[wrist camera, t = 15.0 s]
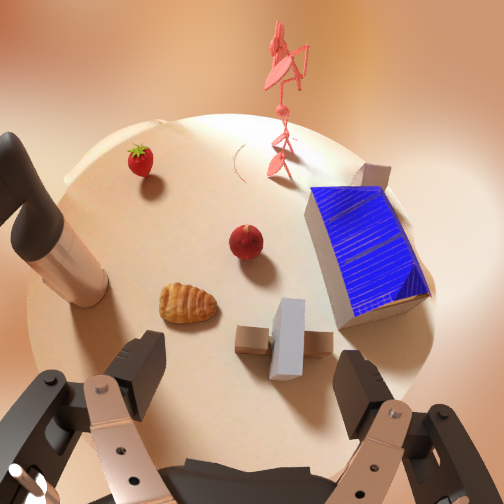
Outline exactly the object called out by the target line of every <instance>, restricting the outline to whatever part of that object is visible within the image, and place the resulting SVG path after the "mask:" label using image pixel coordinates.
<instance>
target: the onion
mask: <svg viewBox="0 0 504 504" xmlns="http://www.w3.org/2000/svg"><path fill="white" fill-rule="evenodd" d="M229 245H230V249H231V251H232V252H233V254H234V255H235V256H237V257H238V258H240V259H243V260H251V259H253V258H255V257H257V256H258V255H259V254H260V252H261V251H262V249H263V237H262V234H261V232H260V231H259V230H258V229H257V228H255V227H254V226H252V225H242V226H240V227H238V228H236V229H235V230H234V231H233V232H232V234H231V236H230V239H229Z"/></svg>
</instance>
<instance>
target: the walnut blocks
mask: <svg viewBox="0 0 504 504" xmlns="http://www.w3.org/2000/svg"><path fill="white" fill-rule="evenodd" d="M268 335H269V328H257V327H247V326H237V331H236V340H235V353H244V354H255V355H267V356H272V346H273V337H271V336H268ZM331 353H333V332H313V331H304V350H303V358H323V357H325V356H327V355H329V354H331Z"/></svg>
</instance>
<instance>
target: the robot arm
mask: <svg viewBox="0 0 504 504" xmlns="http://www.w3.org/2000/svg"><path fill="white" fill-rule="evenodd" d="M22 204H23V205H22ZM21 205H22V208H21V210H20V212H19V214H18V216H17V218H16V220H15V222H14V224H13V227H12V231H11V244H12V247H13V249H14V251H15V252H16V253H17V254H18V255H19V256H20V257H21V258H22V259H23V260H24V261H25V262H26V263H27V264H28V265H30V267H31V268H33V269H34V270H35V271H36V272H37V273H38V274H39V275H40V276H42V277H43V282H44V283H45V284H46V285H47V286H48V287H50V288H51V289H52V290H53V291H54V292H56V293H57V294H58V295H59V296H61V297H62V298H63V299H65V300H66V301H67V302H68V303H74V304H76V305H77V306H79V307H83V308H87V307H91V306H93V305H95V304H97V303H98V302H99V301H100V300H101V299H102V297H103V296H104V294H105V292H106V290H107V286H108V276H107V273H106V271H105V270H104V268H103V267H102V266H101V265H100V263H99V262H98V261H97V260H96V258H95V257H94V256H93V255H92V253H91V252H90V251H89V250H88V248H87V247H86V246H85V244H84V243H83V242H82V240H81V239H80V238H79V236H78V235H77V234H76V232H75V231H74V230H73V228H72V227H71V226H70V224H69V223H68V221H67V220H66V219H65V217H64V216H63V214H62V213H61V211H60V210H59V208H58V207H57V206H56V204H55V203H54V202H53V200H52V199H51V197H50V195H49V194H48V192H47V191H46V189H45V187H44V185H43V184H42V182H41V180H40V178H39V176H38V174H37V172H36V170H35V168H34V166H33V164H32V162H31V160H30V157H29V155H28V153H27V151H26V149H25V147H24V146H23V144H22V142H21V141H20V139H19V138H18V137H17V136H16V135H15V134H14V133H12V132H6V133H4V134H2V135H1V136H0V226H1V225H2V224H4V222H5V221H6V220H7V219H8V218H9V217H10V216H11V215H12V214H13V213H14V212H15V211H16V210H17V209H18V208H19V207H20V206H21ZM165 368H166V351H165V337H164V333H161V332H155V331H150V330H147V331H146V332H145V333H144V335H143V336H142V338H141V339H136V338H135V339H133V340H132V341H130V342H128V343H127V344H126V345H125V346H124V348H123V349H122V351H121V352H120V353H119V354H118V357H116V358H115V359H114V361H113V362H112V363H111V365H110V366H109V367H108V369H107V370H106V371H105V373H104V374H103V375H95V376H92V377H90V378H88V379H87V380H86V381H85V383H74V382H67V381H66V378H65V376H64V374H63V373H62V372H60V371H58V370H46V371H43V372H41V373H40V374H39V375H38V376H37V377H36V378H35V379H34V381H33V382H32V383H31V384H30V385H29V386H28V388H27V389H26V390H25V391H24V392H23V394H22V395H21V396H20V397H19V398H18V400H17V401H16V402H15V403H14V405H13V406H12V407H11V408H10V410H9V411H8V412H7V413H6V415H5V416H4V417H3V419H2V420H1V421H0V504H60V498H59V495H58V493H57V491H56V490H55V487H56V485H57V483H58V481H59V478H60V476H61V474H62V472H63V470H64V468H65V466H66V464H67V462H68V459H69V458H70V455H71V454H72V452H73V449H74V448H75V446H76V444H77V442H78V440H79V438H80V436H81V434H82V432H89V433H91V434H92V437H93V441H94V444H95V448H96V451H97V454H98V457H99V460H100V463H101V466H102V469H103V472H104V475H105V477H106V480H107V483H108V485H109V488H110V490H111V494H109V495H107V496H105V497H103V498H100V499H98V500H96V501H93V502H91V503H89V504H382V502H383V500H384V498H385V495H386V494H387V492H388V489H389V487H390V485H391V483H392V480H393V478H394V476H395V474H396V471H397V469H398V466H399V464H400V461H401V459H402V462H403V465H404V468H405V471H406V474H407V476H408V480H409V483H410V486H411V489H412V493H413V496H414V499H415V502H416V504H503V502H502V499H501V497H500V495H499V493H498V490H497V488H496V486H495V484H494V482H493V480H492V478H491V476H490V474H489V472H488V470H487V468H486V466H485V464H484V462H483V460H482V458H481V457H480V455H479V453H478V451H477V449H476V447H475V446H474V444H473V442H472V440H471V439H470V437H469V435H468V433H467V432H466V430H465V428H464V427H463V425H462V423H461V422H460V420H459V418H458V417H457V416H456V414H455V412H454V411H453V409H452V408H450V407H449V406H447V405H444V404H435V405H433V406H432V407H431V408H430V409H429V411H428V412H427V413H419V412H412V411H411V409H410V407H409V406H408V405H407V404H406V403H404V402H402V401H399V400H395V399H394V398H393V396H392V394H391V392H390V390H389V389H388V387H387V385H386V383H385V381H383V378H382V376H381V375H380V373H379V371H378V369H377V367H376V366H375V365H374V364H372V363H371V362H370V361H369V360H365V359H364V358H363V356H362V354H361V352H360V351H359V350H343V351H342V352H341V355H340V358H339V361H338V364H337V367H336V371H335V374H334V377H333V389H334V392H335V395H336V398H337V402H338V405H339V408H340V411H341V414H342V417H343V421H344V424H345V427H346V430H347V434H348V437H349V440H352V439H359V441H360V443H359V445H358V447H357V448H356V450H355V452H354V453H353V455H352V457H351V458H350V460H349V462H348V463H347V465H346V466H345V468H344V469H343V471H342V473H341V474H340V476H339V477H338V478H337V480H336V481H335V482H333V481H331V480H329V479H327V478H324V477H321V476H317V475H312V474H311V473H310V467H280V468H274V469H269V470H263V471H256V472H244V471H240V470H237V469H233V468H230V467H227V466H224V465H221V464H218V463H212V462H205V461H199V460H193V459H188V458H186V461H185V465H184V466H172V467H166V468H163V469H159V470H157V469H156V468H155V466H154V464H153V462H152V460H151V458H150V456H149V454H148V452H147V450H146V448H145V446H144V444H143V442H142V440H141V438H140V435H139V433H138V431H137V429H136V426H135V424H134V422H133V420H136V421H139V422H142V420H143V417H144V415H145V413H146V411H147V409H148V407H149V404H150V402H151V400H152V398H153V396H154V394H155V391H156V389H157V387H158V385H159V383H160V381H161V379H162V377H163V374H164V372H165ZM434 448H435V449H436V451H437V453H438V456H439V458H440V466H439V465H438V463H437V460H436V458H435V456H434V454H433V450H434Z"/></svg>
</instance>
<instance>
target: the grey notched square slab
mask: <svg viewBox="0 0 504 504" xmlns="http://www.w3.org/2000/svg"><path fill="white" fill-rule="evenodd" d="M304 324H305V300H302V299H291V298H282V300H281V303H280V305H279V308H278V310H277V312H276V315H275V317H274V319H273V330H272V334H273V346H272V358H271V364H270V367H269V379H268V380H279V381H289V380H291V379H294V378H297V377H299V376H302V370H303V350H304Z"/></svg>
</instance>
